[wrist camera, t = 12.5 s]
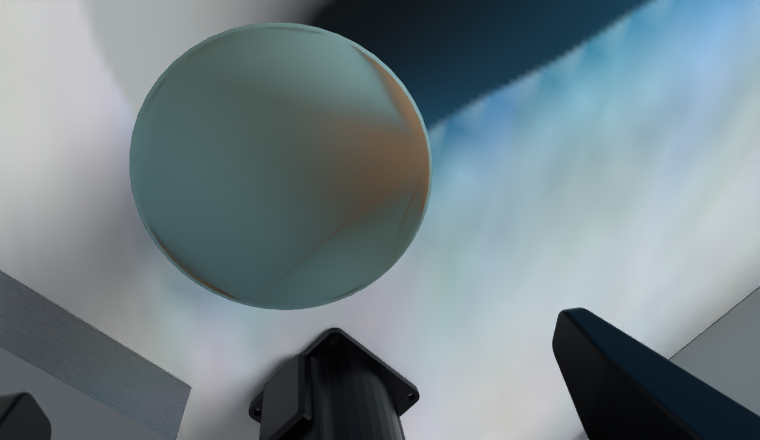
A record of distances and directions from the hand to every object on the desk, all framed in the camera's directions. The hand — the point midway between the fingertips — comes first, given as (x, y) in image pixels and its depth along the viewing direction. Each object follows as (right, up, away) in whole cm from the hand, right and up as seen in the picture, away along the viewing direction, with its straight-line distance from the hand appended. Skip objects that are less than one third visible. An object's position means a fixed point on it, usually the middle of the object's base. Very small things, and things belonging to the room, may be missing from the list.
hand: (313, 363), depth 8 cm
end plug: (-2, +8, +11) cm, 14 cm away
